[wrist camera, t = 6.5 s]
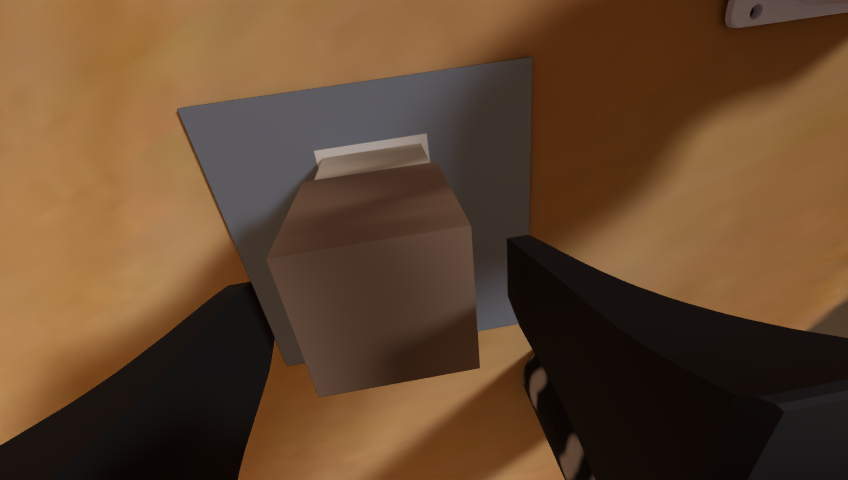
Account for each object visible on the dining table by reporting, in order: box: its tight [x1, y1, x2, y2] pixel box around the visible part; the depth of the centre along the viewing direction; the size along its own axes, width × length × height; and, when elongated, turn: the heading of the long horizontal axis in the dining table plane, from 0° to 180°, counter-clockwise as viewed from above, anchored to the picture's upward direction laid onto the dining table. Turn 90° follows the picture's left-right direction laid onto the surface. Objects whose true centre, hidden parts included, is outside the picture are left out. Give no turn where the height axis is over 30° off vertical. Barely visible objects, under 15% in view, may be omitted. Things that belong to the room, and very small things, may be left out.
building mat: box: [177, 57, 533, 366], centre depth 18 cm, size 14×14×1 cm
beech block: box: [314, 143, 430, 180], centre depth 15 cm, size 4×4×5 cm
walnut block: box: [266, 162, 480, 397], centre depth 11 cm, size 4×4×5 cm
